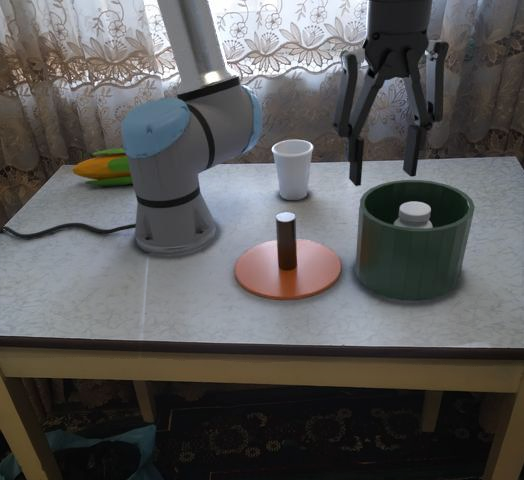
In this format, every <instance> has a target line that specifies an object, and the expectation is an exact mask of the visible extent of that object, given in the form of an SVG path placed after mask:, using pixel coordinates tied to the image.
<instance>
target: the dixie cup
mask: <svg viewBox="0 0 524 480" xmlns="http://www.w3.org/2000/svg"><path fill="white" fill-rule="evenodd" d="M314 149H315V148H314V144H312V143H311V142H310V141H307V140H303V139H287V140H283V141H278V142H276V143H275V144H274V145H273V146H272V148H271V152H272V153H273V159H274V164H275V170H276V177H277V182H278V188H279V189H278V190H279V194H280V197H281V198H282V199H284V200H287V201H300V200H302V199H304V198H305V197H307V195H308V190H309V182H310V173H311V164H312V156H313V150H314Z"/></svg>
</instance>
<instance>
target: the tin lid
mask: <svg viewBox="0 0 524 480" xmlns="http://www.w3.org/2000/svg"><path fill="white" fill-rule="evenodd" d="M275 229H276V231H275V232H276V239H274V240H273V239H272V240H268V241H264V242H261V243H259V244H256V245H254V246H252V247H250V248H249V249H247V250H246V251H244V252H243V253H242V254H241V255H240V256H239V257H238V259H237V260H236V262H235V265H234V275H235V279H236V281H237V282H238V284H239V285H240V286H241V287H242V288H243V289H244V290H246V291H247V292H249V293H251V294H253V295H256V296H259V297H261V298H266V299H271V300H280V301H284V300H286V301H287V300H288V301H289V300H299V299H305V298H309V297H312V296H316V295H318V294H320V293H323V292H325V291H326V290H327V289H329V288H331V287H332V286H333V285H334V284H335V283H336V282H337V281H338V279H339V278H340V275H341V273H342V262H341V259H340V257H339V255H338V254H337V253H336V251H334V250H333V249H331V248H330V247H329V246H327V245H325V244H323V243H321V242H317V241H314V240H309V239H304V238H297V215H296V214H295V213H293V212H289V211H288V212H287V211H284V212H280V213H278V214H277V215H276V216H275Z"/></svg>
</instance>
